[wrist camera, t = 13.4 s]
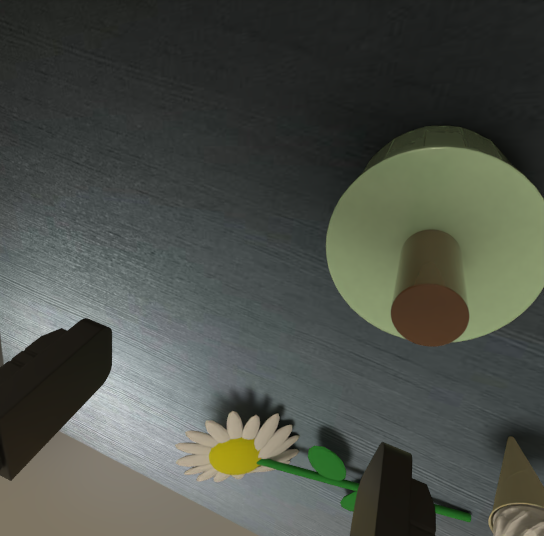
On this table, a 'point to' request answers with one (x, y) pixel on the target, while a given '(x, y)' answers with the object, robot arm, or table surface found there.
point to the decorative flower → (266, 456)
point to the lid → (438, 244)
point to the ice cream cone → (517, 497)
